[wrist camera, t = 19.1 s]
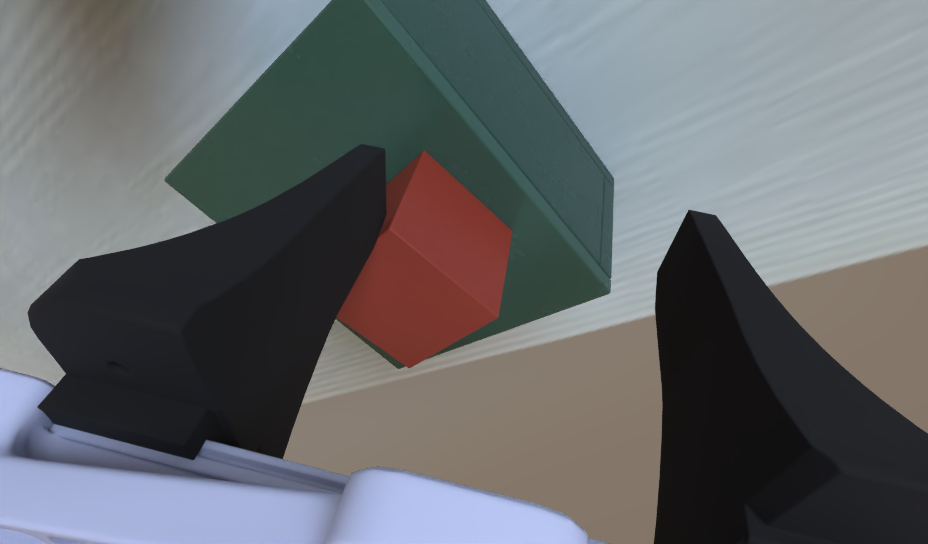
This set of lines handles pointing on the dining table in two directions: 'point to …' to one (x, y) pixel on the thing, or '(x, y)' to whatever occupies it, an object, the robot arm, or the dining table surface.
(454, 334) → the block
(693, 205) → the dining table surface
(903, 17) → the dining table surface
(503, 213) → the bin lid
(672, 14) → the dining table surface
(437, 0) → the bin
